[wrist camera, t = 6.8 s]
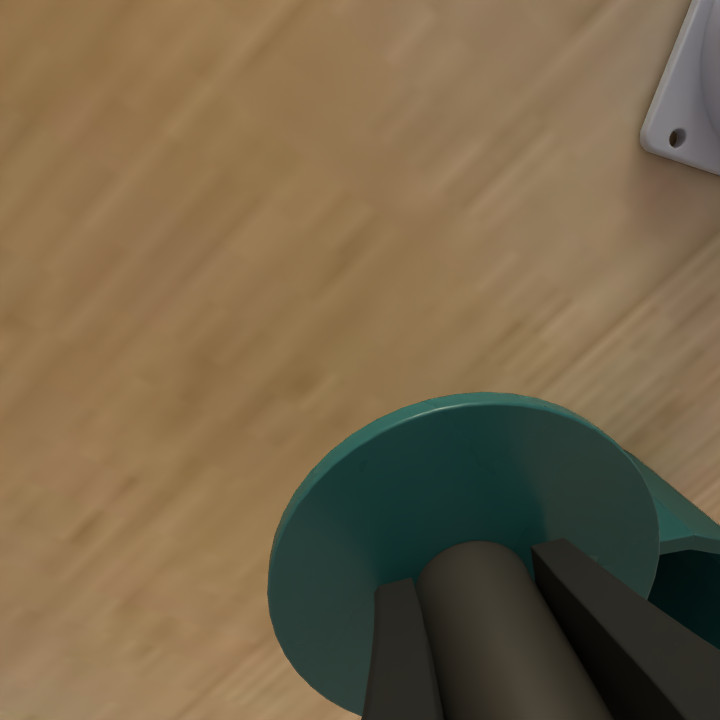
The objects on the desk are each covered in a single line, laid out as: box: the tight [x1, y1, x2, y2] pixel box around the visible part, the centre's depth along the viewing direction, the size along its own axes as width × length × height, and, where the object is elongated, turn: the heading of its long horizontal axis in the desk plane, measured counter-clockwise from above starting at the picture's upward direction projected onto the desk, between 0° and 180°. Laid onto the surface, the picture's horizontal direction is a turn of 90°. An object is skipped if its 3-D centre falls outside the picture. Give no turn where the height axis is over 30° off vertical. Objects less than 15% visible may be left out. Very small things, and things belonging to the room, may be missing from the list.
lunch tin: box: [624, 450, 720, 650], centre depth 17 cm, size 7×7×5 cm
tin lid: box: [267, 392, 660, 720], centre depth 9 cm, size 8×8×5 cm
